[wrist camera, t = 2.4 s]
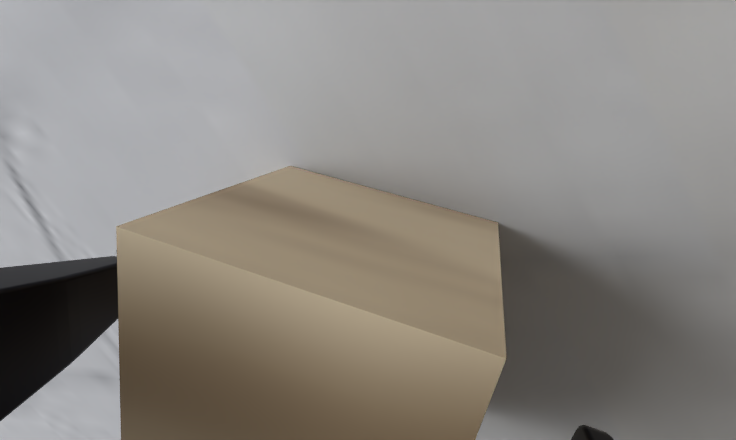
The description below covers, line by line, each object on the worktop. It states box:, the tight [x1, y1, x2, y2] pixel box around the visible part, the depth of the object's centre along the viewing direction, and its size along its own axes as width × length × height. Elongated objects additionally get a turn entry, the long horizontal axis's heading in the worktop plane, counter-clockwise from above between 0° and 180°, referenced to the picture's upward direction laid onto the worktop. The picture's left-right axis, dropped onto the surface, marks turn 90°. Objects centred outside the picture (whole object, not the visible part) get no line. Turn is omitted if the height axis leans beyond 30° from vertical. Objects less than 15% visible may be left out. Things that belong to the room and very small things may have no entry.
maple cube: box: [116, 166, 507, 440], centre depth 8 cm, size 5×5×5 cm
